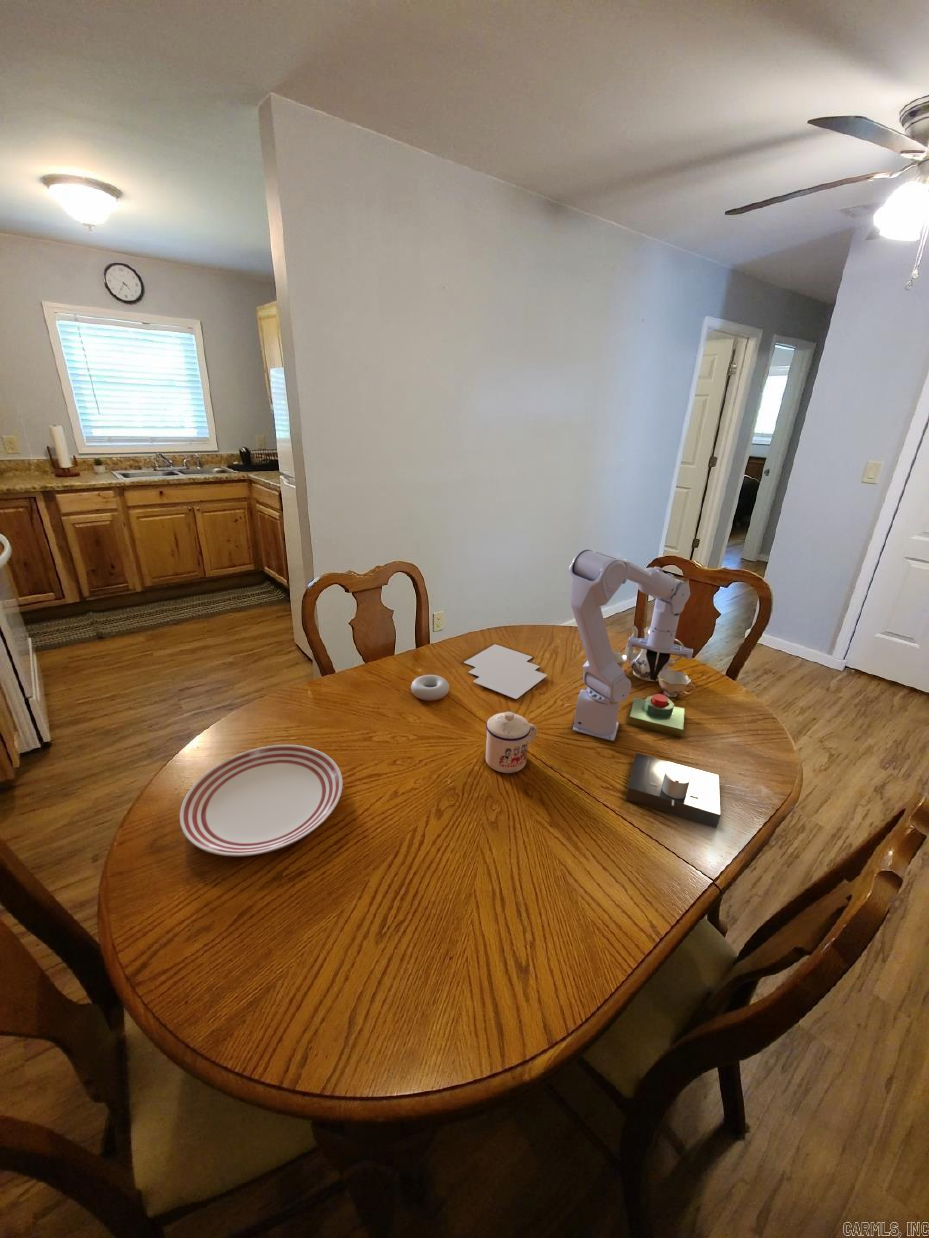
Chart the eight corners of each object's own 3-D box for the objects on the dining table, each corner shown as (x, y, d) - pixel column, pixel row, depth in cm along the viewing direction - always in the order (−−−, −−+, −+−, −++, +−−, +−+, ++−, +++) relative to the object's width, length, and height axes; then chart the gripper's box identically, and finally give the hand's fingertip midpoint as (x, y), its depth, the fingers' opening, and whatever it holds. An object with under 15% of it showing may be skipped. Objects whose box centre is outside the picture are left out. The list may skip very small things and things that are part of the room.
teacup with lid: (499, 780, 100) (503, 731, 96) (476, 754, 107) (478, 708, 103) (546, 762, 106) (552, 715, 101) (521, 739, 113) (525, 694, 109)
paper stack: (445, 672, 141) (445, 670, 140) (494, 644, 159) (495, 642, 159) (516, 701, 128) (516, 699, 128) (561, 666, 146) (561, 664, 146)
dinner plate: (338, 857, 82) (337, 841, 80) (156, 876, 77) (151, 860, 76) (347, 752, 107) (346, 739, 105) (209, 762, 102) (207, 749, 101)
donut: (434, 707, 124) (456, 690, 132) (434, 696, 123) (456, 679, 131) (403, 695, 129) (426, 679, 137) (402, 684, 128) (426, 668, 136)
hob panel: (624, 804, 95) (627, 791, 94) (633, 763, 106) (635, 751, 105) (717, 833, 89) (721, 819, 88) (715, 786, 100) (719, 774, 99)
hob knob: (662, 779, 97) (666, 763, 96) (686, 786, 96) (690, 770, 94) (660, 794, 94) (664, 777, 92) (686, 801, 92) (690, 784, 90)
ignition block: (628, 724, 120) (630, 709, 119) (633, 703, 129) (635, 690, 127) (681, 737, 116) (684, 723, 114) (683, 715, 124) (686, 701, 123)
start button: (650, 705, 122) (652, 699, 121) (652, 698, 125) (653, 692, 124) (666, 709, 120) (667, 702, 120) (667, 701, 123) (668, 695, 123)
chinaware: (585, 678, 144) (590, 627, 136) (606, 653, 156) (612, 605, 148) (688, 711, 129) (700, 656, 122) (702, 680, 141) (714, 629, 134)
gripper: (697, 627, 118) (685, 678, 123) (633, 616, 123) (625, 665, 128) (696, 638, 112) (684, 691, 117) (629, 625, 117) (621, 676, 122)
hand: (653, 678), depth 122 cm, fingers closed
